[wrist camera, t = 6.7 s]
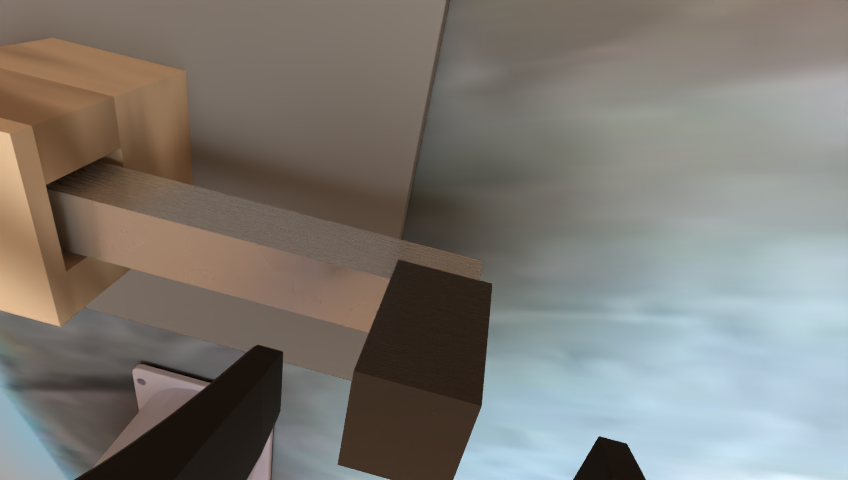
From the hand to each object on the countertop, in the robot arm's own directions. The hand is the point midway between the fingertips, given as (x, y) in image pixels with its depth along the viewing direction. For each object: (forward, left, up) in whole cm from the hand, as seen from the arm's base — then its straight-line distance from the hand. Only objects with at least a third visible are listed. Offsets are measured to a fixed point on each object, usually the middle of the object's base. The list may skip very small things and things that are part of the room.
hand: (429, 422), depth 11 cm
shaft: (+1, +7, -5) cm, 8 cm away
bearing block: (+1, +13, -9) cm, 16 cm away
